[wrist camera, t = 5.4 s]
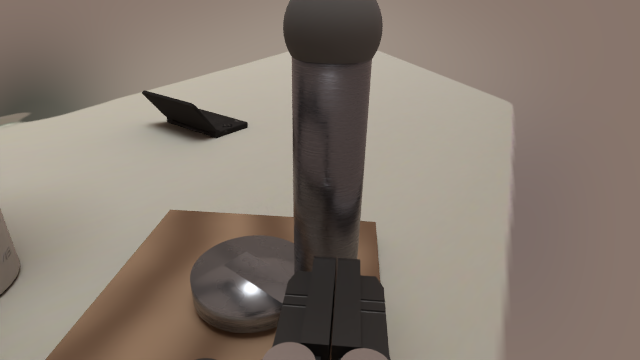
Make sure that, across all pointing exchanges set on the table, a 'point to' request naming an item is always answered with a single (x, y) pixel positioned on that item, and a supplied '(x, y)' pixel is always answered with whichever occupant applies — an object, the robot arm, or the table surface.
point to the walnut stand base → (179, 294)
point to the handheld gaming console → (194, 116)
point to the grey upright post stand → (304, 168)
